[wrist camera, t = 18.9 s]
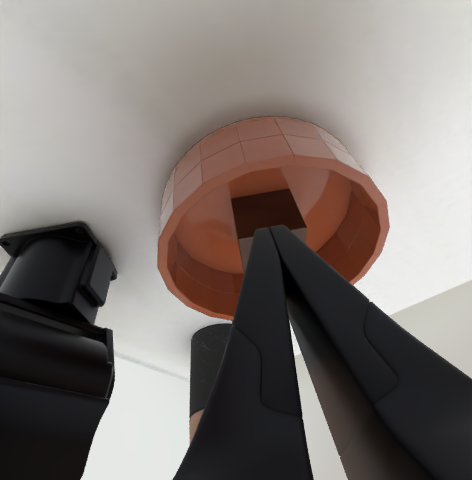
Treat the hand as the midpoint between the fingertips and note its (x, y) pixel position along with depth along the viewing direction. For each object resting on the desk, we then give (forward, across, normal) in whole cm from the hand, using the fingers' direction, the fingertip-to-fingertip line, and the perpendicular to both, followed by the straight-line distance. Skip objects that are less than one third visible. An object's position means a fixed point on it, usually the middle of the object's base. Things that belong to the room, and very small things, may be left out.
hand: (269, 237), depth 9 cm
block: (+12, -1, +9) cm, 15 cm away
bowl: (+12, -1, +9) cm, 15 cm away
